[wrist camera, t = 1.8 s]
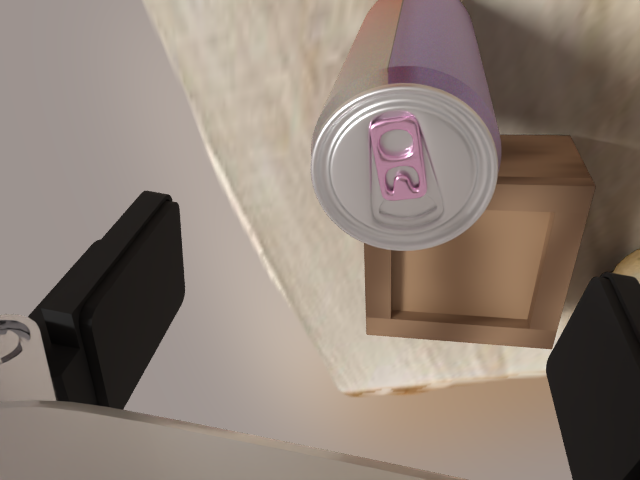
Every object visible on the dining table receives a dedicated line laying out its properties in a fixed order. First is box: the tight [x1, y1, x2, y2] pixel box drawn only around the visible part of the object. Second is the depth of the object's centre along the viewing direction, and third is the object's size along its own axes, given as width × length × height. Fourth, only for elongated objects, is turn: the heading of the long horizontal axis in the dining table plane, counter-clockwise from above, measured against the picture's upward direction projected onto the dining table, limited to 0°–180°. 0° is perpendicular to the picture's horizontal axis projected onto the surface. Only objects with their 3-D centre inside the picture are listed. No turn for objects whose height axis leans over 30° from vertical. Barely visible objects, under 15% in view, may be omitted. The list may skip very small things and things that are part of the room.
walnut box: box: [364, 135, 596, 349], centre depth 31 cm, size 11×11×6 cm
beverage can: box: [311, 0, 501, 251], centre depth 22 cm, size 6×6×15 cm
